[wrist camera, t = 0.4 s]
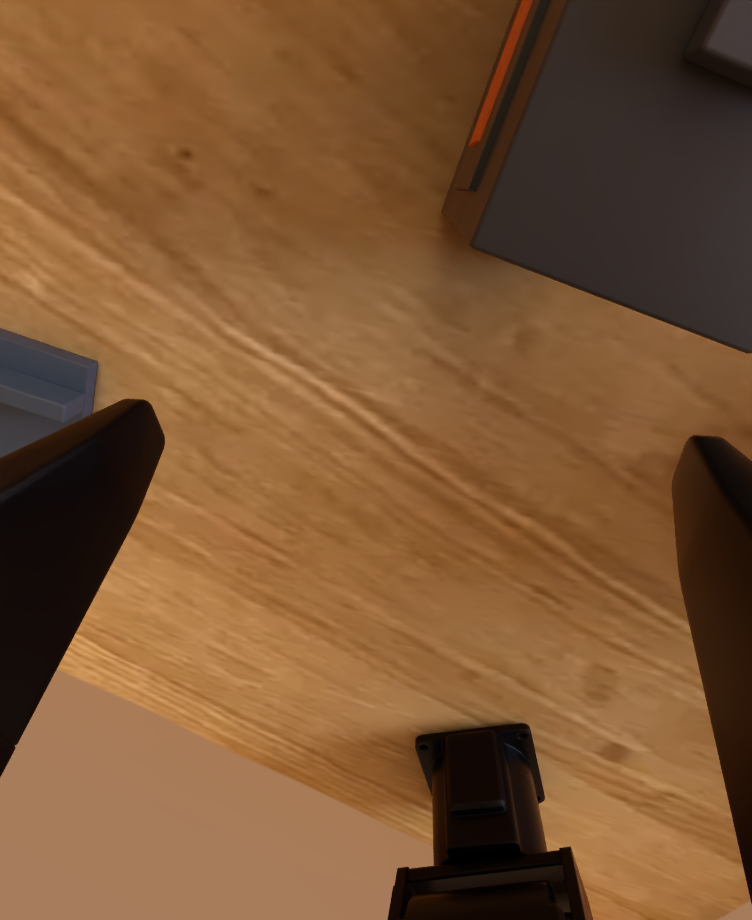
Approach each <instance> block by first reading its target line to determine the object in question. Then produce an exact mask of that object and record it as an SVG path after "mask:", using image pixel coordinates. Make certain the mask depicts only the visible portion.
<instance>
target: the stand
mask: <svg viewBox="0 0 752 920" xmlns="http://www.w3.org/2000/svg"><path fill="white" fill-rule="evenodd" d="M97 365H98V362H97V361H94V360H91V359H88V358H86V357H83V356H80V355H77V354H74V353H71V352H68V351H65V350H62V349H59V348H56V347H53V346H50V345H47V344H45V343H42V342H39V341H36V340H33V339H30V338H27V337H24V336H21V335H18V334H15V333H12V332H9V331H6V330H3V329H1V328H0V458H1V457H3V456H5V455H7V454H9V453H12V452H14V451H16V450H18V449H20V448H22V447H24V446H26V445H28V444H31V443H33V442H35V441H37V440H39V439H41V438H43V437H45V436H47V435H49V434H52V433H54V432H56V431H58V430H60V429H62V428H64V427H66V426H68V425H71V424H73V423H75V422H77V421H79V420H81V419H83V418H85V417H87V416H89V415H92V408H93V400H94V391H95V383H96V374H97Z"/></svg>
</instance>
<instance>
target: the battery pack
mask: <svg viewBox="0 0 752 920" xmlns="http://www.w3.org/2000/svg"><path fill="white" fill-rule="evenodd" d="M441 212H442V213H443V214H444V216H445V217H446V218H447V219H448V220H449V222H450V223H451V224H452V225H453V226H454V228H455V229H456V230H457V231H458V232H459V233H460V235H461V236H462V237H463V238H464V239H465V241H466V242H467V243H468V244H469V245H470V246H471V247H472V248H473V249H475V250H477V251H480V252H483V253H485V254H488V255H490V256H493V257H496V258H498V259H501V260H504V261H506V262H509V263H511V264H514V265H517V266H519V267H522V268H525V269H527V270H530V271H532V272H535V273H538V274H540V275H543V276H545V277H548V278H551V279H553V280H556V281H559V282H561V283H564V284H566V285H569V286H572V287H574V288H577V289H579V290H582V291H585V292H587V293H590V294H593V295H595V296H598V297H600V298H603V299H606V300H608V301H611V302H613V303H616V304H619V305H621V306H624V307H627V308H629V309H632V310H634V311H637V312H640V313H642V314H645V315H648V316H650V317H653V318H655V319H658V320H661V321H663V322H666V323H668V324H671V325H674V326H676V327H679V328H682V329H684V330H687V331H689V332H692V333H695V334H697V335H700V336H702V337H705V338H708V339H710V340H713V341H716V342H718V343H721V344H723V345H726V346H729V347H731V348H734V349H737V350H739V351H742V352H744V353H752V0H518V1H517V4H516V7H515V9H514V12H513V15H512V18H511V20H510V23H509V26H508V29H507V31H506V34H505V37H504V40H503V42H502V45H501V48H500V51H499V53H498V56H497V59H496V62H495V64H494V67H493V70H492V73H491V75H490V78H489V81H488V83H487V86H486V89H485V92H484V94H483V97H482V100H481V103H480V105H479V108H478V111H477V114H476V116H475V119H474V122H473V125H472V127H471V130H470V133H469V136H468V138H467V141H466V144H465V147H464V149H463V152H462V155H461V157H460V160H459V163H458V166H457V168H456V171H455V174H454V177H453V179H452V182H451V185H450V188H449V190H448V193H447V196H446V199H445V201H444V204H443V207H442V210H441Z"/></svg>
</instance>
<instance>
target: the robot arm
mask: <svg viewBox="0 0 752 920" xmlns="http://www.w3.org/2000/svg"><path fill="white" fill-rule="evenodd" d="M164 445H165V437H164V433H163V431H162V428H161V426H160V424H159V421H158V419H157V417H156V414H155V412H154V409H153V407H152V405H151V404H150V403H149V402H148V401H146V400H141V399H123V400H121V401H119V402H117V403H115V404H113V405H110V406H108V407H106V408H104V409H102V410H100V411H98V412H96V413H94V414H92V415H89V416H87V417H85V418H83V419H81V420H79V421H77V422H75V423H73V424H71V425H68V426H66V427H64V428H62V429H60V430H58V431H56V432H54V433H52V434H49V435H47V436H45V437H43V438H41V439H39V440H37V441H35V442H33V443H31V444H28V445H26V446H24V447H22V448H20V449H18V450H16V451H14V452H12V453H9V454H7V455H5V456H3V457H1V458H0V776H1V775H2V773H3V771H4V769H5V767H6V765H7V763H8V762H9V759H10V758H11V756H12V754H13V752H14V750H15V746H14V745H17V744H18V742H19V740H20V738H21V736H22V734H23V732H24V730H25V728H26V726H27V725H28V723H29V721H30V719H31V717H32V715H33V713H34V711H35V709H36V707H37V706H38V704H39V702H40V700H41V698H42V696H43V694H44V692H45V690H46V688H47V686H48V685H49V683H50V681H51V679H52V677H53V675H54V673H55V671H56V669H57V668H58V666H59V664H60V662H61V660H62V658H63V656H64V654H65V652H66V650H67V649H68V647H69V645H70V643H71V641H72V639H73V637H74V635H75V633H76V631H77V630H78V628H79V626H80V624H81V622H82V620H83V618H84V616H85V614H86V612H87V610H88V609H89V607H90V605H91V603H92V601H93V599H94V597H95V595H96V593H97V591H98V590H99V588H100V586H101V584H102V582H103V580H104V578H105V576H106V574H107V572H108V571H109V569H110V567H111V565H112V563H113V561H114V559H115V557H116V555H117V553H118V552H119V550H120V548H121V546H122V544H123V542H124V540H125V538H126V536H127V534H128V532H129V531H130V529H131V527H132V525H133V523H134V521H135V519H136V517H137V514H138V512H139V510H140V507H141V505H142V503H143V500H144V498H145V495H146V492H147V490H148V487H149V485H150V482H151V480H152V477H153V475H154V472H155V470H156V467H157V465H158V462H159V459H160V457H161V454H162V452H163V449H164ZM672 500H673V512H674V524H675V536H676V548H677V560H678V570H679V578H680V583H681V589H682V594H683V598H684V602H685V607H686V611H687V616H688V620H689V625H690V629H691V634H692V638H693V643H694V647H695V652H696V656H697V661H698V665H699V670H700V674H701V679H702V683H703V688H704V692H705V697H706V701H707V706H708V710H709V715H710V719H711V724H712V728H713V733H714V737H715V742H716V746H717V751H718V755H719V760H720V764H721V769H722V773H723V778H724V782H725V787H726V791H727V795H728V800H729V804H730V809H731V813H732V818H733V822H734V827H735V831H736V836H737V840H738V845H739V849H740V854H741V858H742V863H743V867H744V872H745V876H746V881H747V885H748V890H749V894H750V899H751V903H752V461H751V460H750V459H749V458H747V457H746V456H745V455H744V454H742V453H741V452H740V451H739V450H737V449H736V448H735V447H734V446H732V445H731V444H730V443H729V442H727V441H726V440H725V439H723V438H721V437H718V436H703V435H693V436H691V437H689V438H688V440H687V441H686V443H685V446H684V448H683V451H682V454H681V456H680V459H679V462H678V464H677V467H676V470H675V472H674V475H673V479H672ZM415 748H416V751H417V754H418V757H419V760H420V763H421V766H422V769H423V771H424V774H425V777H426V780H427V783H428V786H429V789H430V792H431V795H432V807H433V850H434V866H428V867H420V868H412V869H409V867H403V868H398V869H397V875H396V881H395V886H393V891H392V897H391V904H390V909H389V915H388V920H593V917H592V913H591V909H590V906H589V902H588V898H587V895H586V892H585V889H584V886H583V883H582V880H581V877H580V874H579V871H578V867H577V864H576V861H575V858H574V855H573V852H572V849H571V847H564V848H559V849H560V850H558V851H550V852H547V847H546V842H545V836H544V831H543V826H542V821H541V816H540V811H539V805H538V803H541V802H543V801H544V800H545V796H544V791H543V787H542V782H541V777H540V772H539V768H538V763H537V758H536V753H535V749H534V744H533V739H532V735H531V730H530V727H529V726H528V725H527V724H522V723H519V724H511V725H503V726H494V727H486V728H477V729H469V730H460V731H452V732H444V733H435V734H427V735H420V736H418V737H417V738H416V739H415Z"/></svg>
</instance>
